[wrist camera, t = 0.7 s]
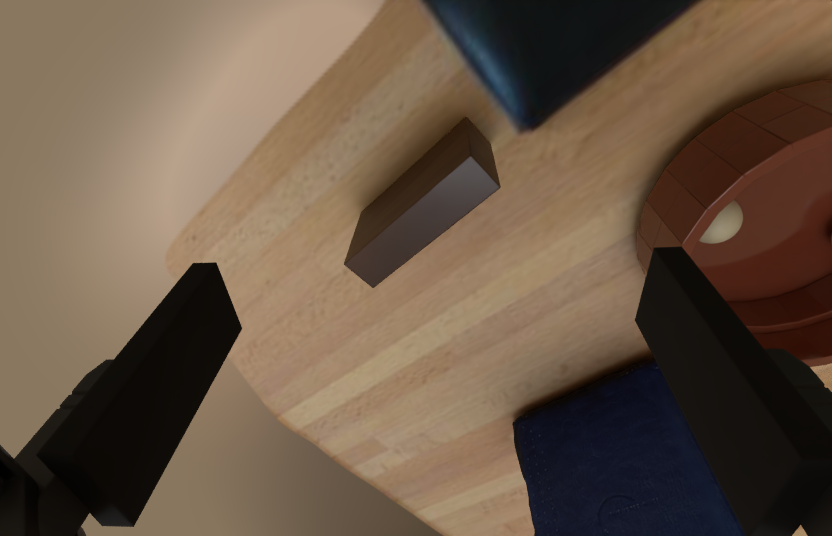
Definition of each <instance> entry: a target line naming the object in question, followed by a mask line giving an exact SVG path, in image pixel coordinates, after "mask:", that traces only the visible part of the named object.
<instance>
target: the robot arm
mask: <svg viewBox="0 0 832 536" xmlns="http://www.w3.org/2000/svg"><path fill="white" fill-rule="evenodd" d="M635 321H636V323H637V325H638V327H639V329H640V331H641V333H642V335H643V337H644V339H645V341H646V343H647V345H648V347H649V348H650V350H651V352H652V354H653V356H654V358H655V360H656V362H657V364H658V366H659V368H660V370H661V372H662V374H663V376H664V378H665V380H666V382H667V383H668V385H669V387H670V389H671V391H672V393H673V395H674V397H675V399H676V401H677V403H678V405H679V407H680V409H681V411H682V413H683V415H684V417H685V418H686V420H687V422H688V424H689V426H690V428H691V430H692V432H693V434H694V436H695V438H696V440H697V442H698V444H699V446H700V448H701V450H702V451H703V453H704V455H705V457H706V459H707V461H708V463H709V465H710V467H711V469H712V471H713V473H714V475H715V477H716V479H717V481H718V483H719V485H720V486H721V488H722V490H723V492H724V494H725V496H726V498H727V500H728V502H729V504H730V506H731V508H732V510H733V512H734V514H735V516H736V518H737V520H738V521H739V523H740V525H741V527H742V529H743V531H744V533H745V535H746V536H792V535H793V534H794V532H795V531H796V530H797V529H798V527H799V526H800V525H802V527H803V529H804V530H805V532H806V534H807V535H808V536H832V392H831V391H830V390H829V389H828V388H825V387H824V383H823V382H822V381H821V380H820V379H819V377H818V376H817V375H816V374H815V373H814V372H813V371H812V369H811V368H810V367H809V366H808V365H807V364H805V363H804V362H803V361H801V360H800V359H798V358H797V357H795V356H794V355H792V354H791V353H789V352H788V351H786V350H785V349H784V348H777V349H764V348H763V347H762V346H761V344H760V343H759V342H758V341H757V339H756V338H755V337H754V336H753V334H752V333H751V332H750V331H749V329H748V328H747V327H746V326H745V325H744V323H743V322H742V321H741V320H740V318H739V317H738V316H737V315H736V313H735V312H734V311H733V310H732V308H731V307H730V306H729V305H728V303H727V302H726V301H725V300H724V298H723V297H722V296H721V295H720V293H719V292H718V291H717V290H716V288H715V287H714V286H713V285H712V283H711V282H710V281H709V280H708V279H707V277H706V276H705V275H704V274H703V272H702V271H701V270H700V269H699V267H698V266H697V265H696V264H695V262H694V261H693V260H692V259H691V257H690V256H689V255H688V254H687V252H686V251H685V250H684V249H683V247H682V246H681V247H654V248H653V252H652V256H651V260H650V264H649V268H648V272H647V276H646V279H645V283H644V287H643V291H642V295H641V299H640V303H639V307H638V310H637V314H636V318H635ZM241 329H242V327H241V324H240V322H239V319H238V317H237V314H236V312H235V309H234V306H233V304H232V301H231V299H230V296H229V294H228V291H227V289H226V286H225V284H224V281H223V278H222V276H221V273H220V271H219V268H218V266H217V263H193V264H192V265H191V266H190V268H189V269H188V270H187V271H186V272H185V274H184V275H183V276H182V277H181V278H180V280H179V281H178V282H177V283H176V285H175V286H174V287H173V288H172V289H171V291H170V292H169V293H168V294H167V296H166V297H165V298H164V299H163V300H162V302H161V303H160V304H159V305H158V306H157V308H156V309H155V310H154V311H153V313H152V314H151V315H150V316H149V317H148V319H147V320H146V321H145V322H144V324H143V325H142V326H141V327H140V328H139V330H138V331H137V332H136V333H135V335H134V336H133V337H132V338H131V339H130V341H129V342H128V343H127V345H126V346H125V347H124V348H123V349H122V350H121V352H120V353H119V354H118V355H117V356H116V358H115V359H114V360H105V361H104V362H103V363H101V364H100V365H99V366H97V367H96V368H95V369H93V370H92V371H91V372H89V373H88V374H87V375H86V376H85V377H84V378H83V379H82V380H81V381H80V383H79V384H78V385H77V386H76V388H74V390H73V391H72V395H69V396H68V397H67V398H66V399H65V400H64V401H63V402H62V404H61V405H60V409H57V410H56V411H55V412H54V413H53V414H52V415H51V417H50V418H49V419H48V420H47V421H46V422H45V424H44V425H43V426H42V427H41V428H40V430H39V431H38V432H37V433H36V434H35V435H34V436H33V438H32V439H31V440H30V441H29V442H28V443H27V445H26V446H25V447H24V448H23V449H22V450H21V452H20V453H19V454H18V455H17V456H16V457H15V458H14V459H13V458H12V457H11V455H10V454H8V452H6V450H5V449H4V448H3V447H2V446H1V445H0V536H86V534H85V532H84V530H83V529H82V527H81V525H82V524H83V522H84V521H85V519H86V517H87V516H88V514H89V513H91V514H92V516H93V517H94V518H95V519H96V520H97V521H98V522H99V523H100V524H101V525H102V526H127V527H128V526H129V527H134V525H135V523H136V521H137V520H138V518H139V516H140V514H141V512H142V511H143V509H144V507H145V505H146V503H147V501H148V500H149V498H150V496H151V494H152V492H153V490H154V489H155V487H156V485H157V483H158V481H159V479H160V477H161V476H162V474H163V472H164V470H165V468H166V467H167V465H168V463H169V461H170V459H171V458H172V456H173V454H174V452H175V450H176V448H177V447H178V445H179V443H180V441H181V439H182V437H183V435H184V434H185V432H186V430H187V428H188V426H189V425H190V423H191V421H192V419H193V417H194V415H195V414H196V412H197V410H198V408H199V406H200V404H201V403H202V401H203V399H204V397H205V395H206V393H207V392H208V390H209V388H210V386H211V384H212V382H213V381H214V379H215V377H216V375H217V373H218V372H219V370H220V368H221V366H222V364H223V362H224V361H225V359H226V357H227V355H228V353H229V351H230V350H231V348H232V346H233V344H234V342H235V340H236V339H237V337H238V335H239V333H240V331H241Z"/></svg>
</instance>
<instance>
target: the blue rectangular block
mask: <svg viewBox="0 0 832 536" xmlns="http://www.w3.org/2000/svg"><path fill="white" fill-rule="evenodd" d="M513 429H514V443H515V448H516V452H517V457H518V460H519V464H520V468H521V472H522V475H523V478H524V480H525V482H526V485H527V491H528V496H529V507H530V511H531V516H532V522H533V525H534V529H535V535H534V536H746V535H745V533H744V531H743V529H742V527H741V525H740V523H739V521H738V520H737V518H736V516H735V514H734V512H733V510H732V508H731V506H730V504H729V502H728V500H727V498H726V496H725V494H724V492H723V490H722V488H721V486H720V485H719V483H718V481H717V479H716V477H715V475H714V473H713V471H712V469H711V467H710V465H709V463H708V461H707V459H706V457H705V455H704V453H703V451H702V450H701V448H700V446H699V444H698V442H697V440H696V438H695V436H694V434H693V432H692V430H691V428H690V426H689V424H688V422H687V420H686V418H685V417H684V415H683V413H682V411H681V409H680V407H679V405H678V403H677V401H676V399H675V397H674V395H673V393H672V391H671V389H670V387H669V385H668V383H667V382H666V380H665V378H664V376H663V374H662V372H661V370H660V368H659V366H658V364H657V362H656V360H655V358H653V359H651V360H648V361H646V362H642V363H638V364H634V365H632V366H629V367H628V368H626V369H625V370H623V371H622V372H618V373H614V374H611V375H608V376H605V377H604V378H603V379H601V380H599V381H596V382H594V383H593V384H592V385H590V386H588V387H587V388H582V389H578V390H576V391H574V392H573V393H571V394H569V395H568V396H566V397H564V398H562V399H559V400H557V401H554V402H551V403H549V404H548V405H546V406H544V407H542V408H540V409H537V410H534V411H530V412H528V413H526V414H524V415H522V416H520V417H519V418H517V419H516V420H515V421H514V422H513Z"/></svg>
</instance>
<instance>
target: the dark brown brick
mask: <svg viewBox="0 0 832 536" xmlns="http://www.w3.org/2000/svg"><path fill="white" fill-rule="evenodd" d="M499 188H500V182H499V178H498V174H497V169H496V165H495V161H494V156H493V152H492V148H491V144H490V142H489V141H488V140H487V139H486V138H485V137H484V136H483V135H482V133H481V132H480V131H479V130H478V129H477V128H476V127H475V126H474V124H473V123H472V122H471V121H470V120H469V119H468V118H467V117H465V118H464V119H463V120H462V121H461V122H460V123H458V124H457V125H456V126H455V127H454V128H453V129H452V130H451V131H450V132H449V133H448V134H446V135H445V136H444V137H443V138H442V139H441V140H440V141H439V142H438V143H437V144H435V145H434V146H433V147H432V148H431V149H430V150H429V151H428V152H427V153H426V154H425V155H423V156H422V157H421V158H420V159H419V160H418V161H417V162H416V163H415V164H414V165H412V166H411V167H410V168H409V169H408V170H407V171H406V172H405V173H404V174H403V175H401V176H400V177H399V178H398V179H397V180H396V181H395V182H394V183H393V184H392V185H391V186H389V187H388V188H387V189H386V190H385V191H384V192H383V193H382V194H381V195H380V196H378V197H377V198H376V199H375V200H374V201H373V202H372V203H371V204H370V205H369V206H368V207H366V208H365V209H364V210H363V211H362V212H361V214H360V217H359V220H358V223H357V226H356V229H355V232H354V235H353V238H352V241H351V244H350V247H349V250H348V253H347V256H346V259H345V262H344V265H345V266H346V267H348V268H349V269H350V270H351V271H353V272H354V273H355V274H356V275H358V276H359V277H360V278H361V279H362V280H364V281H365V282H366V283H367V284H369V285H370V286H371V287H372V288H374V287H375V286H377V285H378V284H379V283H380V282H382V281H383V280H384V279H385V278H387V277H388V276H389V275H390V274H392V273H393V272H394V271H395V270H397V269H398V268H399V267H401V266H402V265H403V264H404V263H406V262H407V261H408V260H409V259H411V258H412V257H413V256H414V255H416V254H417V253H418V252H420V251H421V250H422V249H423V248H425V247H426V246H427V245H428V244H430V243H431V242H432V241H433V240H435V239H436V238H437V237H439V236H440V235H441V234H442V233H444V232H445V231H446V230H447V229H449V228H450V227H451V226H452V225H454V224H455V223H456V222H458V221H459V220H460V219H461V218H463V217H464V216H465V215H466V214H468V213H469V212H470V211H471V210H473V209H474V208H475V207H477V206H478V205H479V204H480V203H482V202H483V201H484V200H485V199H487V198H488V197H489V196H490V195H492V194H493V193H494V192H496V191H497V190H498V189H499Z"/></svg>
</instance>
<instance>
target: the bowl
mask: <svg viewBox="0 0 832 536" xmlns="http://www.w3.org/2000/svg"><path fill="white" fill-rule="evenodd" d="M733 200H735V201H736V202H737V203H738V204H739V206H740V208H741V210H742V213H743V221H742V225H741V227H740V229H739V230H738V232H737V233H736V234H735V235H734V236H733V237H731V238H730V239H728V240H726V241H724V242H720V243H714V244H709V243H703V242H700V241H699V240H700V238H701V237H702V236H703V234H704V233H705V231H706V230H707V229H708V227H709V226H710V225H711V223H712V222H713V220H714V219H715V218H716V216H717V215H718V214H719V213H720V212H721V211H722V210H723V209H724V208H725V207H726V206H727V205H728V204H729V203H730V202H732V201H733ZM831 236H832V80H818V81H814V82H809V83H805V84H801V85H797V86H793V87H789V88H785V89H780V90H776V91H774V92H772V93H769V94H767V95H765V96H763V97H761V98H759V99H757V100H754V101H752V102H750V103H748V104H746V105H744V106H742V107H739V108H737V109H735V110H733V111H731V112H730V113H728V114H727V115H725V116H724V117H723V118H721V119H720V120H718V121H717V122H715V123H713V124H712V125H710V126H709V127H708V128H706V129H705V130H704V131H703V132H701V133H700V134H699V135H697V136H696V137H695V138H694V139H693V140H691V141H690V142H689V143H688V144H687V145H686V146H685V147H684V148H683V149H682V150H681V151H680V152H679V153H678V154H677V155H676V157H675V158H674V159H673V160H672V161H671V162H670V164H669V165H668V166H667V167H666V169H665V170H664V171H663V173H662V175H661V176H660V178H659V179H658V181H657V183H656V184H655V186H654V188H653V189H652V191H651V193H650V194H649V196H648V197H647V200H646V203H645V206H644V209H643V212H642V216H641V219H640V222H639V226H638V230H637V256H638V260H639V262H640V265H641V267H642V270H643V273H644V275H645V278H646V276H647V272H648V268H649V264H650V260H651V256H652V252H653V248H654V247H681V246H682V247H683V249H684V250H685V251H686V252H687V254H688V255H689V256H690V257H691V259H692V260H693V261H694V262H695V264H696V265H697V266H698V267H699V269H700V270H701V271H702V272H703V274H704V275H705V276H706V277H707V279H708V280H709V281H710V282H711V283H712V285H713V286H714V287H715V288H716V290H717V291H718V292H719V293H720V295H721V296H722V297H723V298H724V300H725V301H726V302H727V303H728V305H729V306H730V307H731V308H732V310H733V311H734V312H735V313H736V315H737V316H738V317H739V318H740V320H741V321H742V322H743V323H744V325H745V326H746V327H747V328H748V329H749V331H750V332H751V333H752V334H753V336H754V337H755V338H756V339H757V341H758V342H759V343H760V344H761V346H762V347H763V348H764V349H777V348H784V349H785V350H786V351H788V352H789V353H791V354H792V355H794V356H795V357H797V358H798V359H800V360H801V361H803V362H804V363H805V364H807V365H808V366H809V367H813V366H820V365H826V364H830V363H832V242H831Z"/></svg>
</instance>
